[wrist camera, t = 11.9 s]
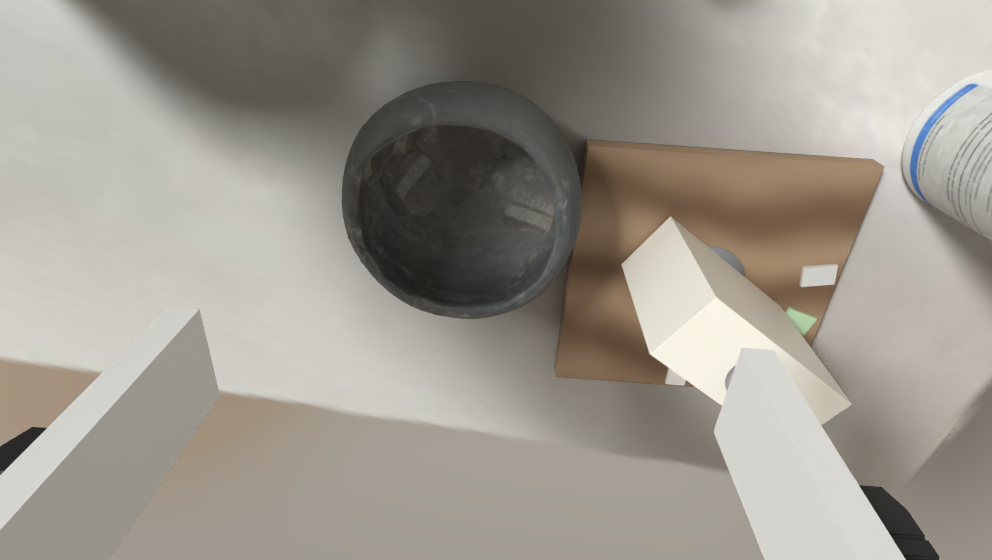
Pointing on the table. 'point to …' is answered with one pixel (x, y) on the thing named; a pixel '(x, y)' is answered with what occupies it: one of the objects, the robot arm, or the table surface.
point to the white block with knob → (716, 319)
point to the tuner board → (701, 236)
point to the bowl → (462, 199)
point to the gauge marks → (800, 319)
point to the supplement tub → (955, 153)
